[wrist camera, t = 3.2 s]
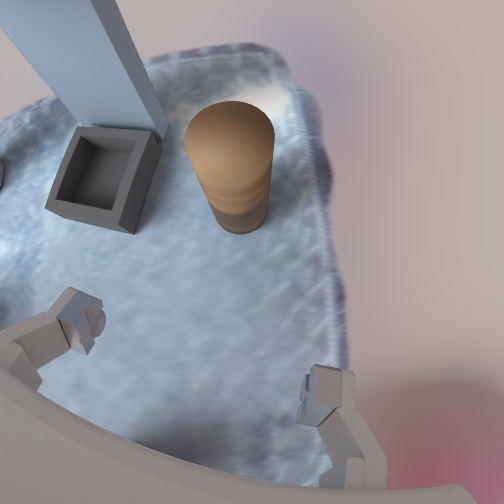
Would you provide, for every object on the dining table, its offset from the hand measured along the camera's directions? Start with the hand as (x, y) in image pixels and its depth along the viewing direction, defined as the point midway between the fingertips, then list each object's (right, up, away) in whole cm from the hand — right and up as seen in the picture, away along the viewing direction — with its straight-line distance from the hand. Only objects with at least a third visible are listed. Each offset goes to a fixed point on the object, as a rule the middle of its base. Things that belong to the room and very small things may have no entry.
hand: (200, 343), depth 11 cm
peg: (+1, +7, +16) cm, 17 cm away
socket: (-12, +10, +16) cm, 22 cm away
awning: (-12, +11, +17) cm, 24 cm away
